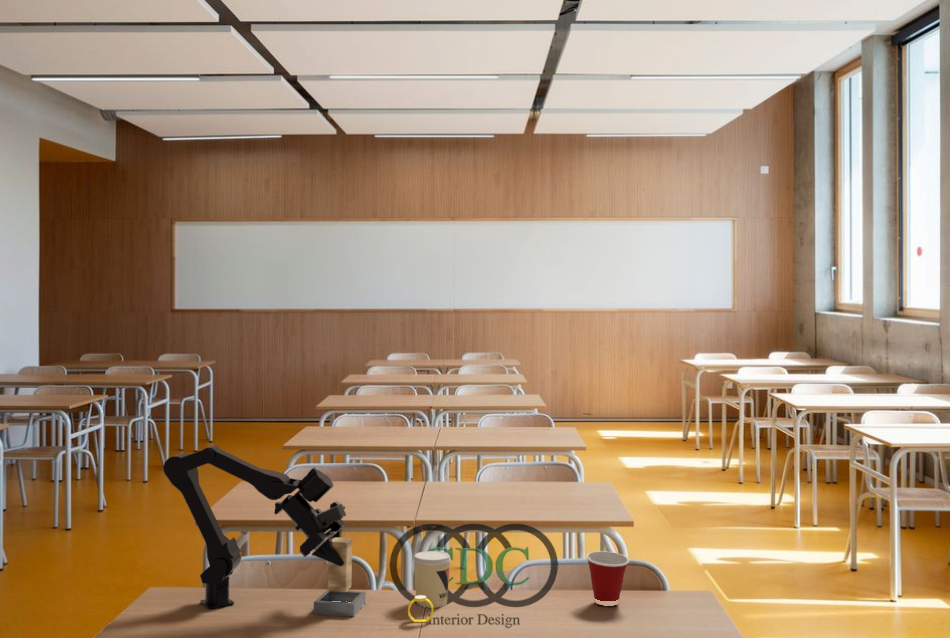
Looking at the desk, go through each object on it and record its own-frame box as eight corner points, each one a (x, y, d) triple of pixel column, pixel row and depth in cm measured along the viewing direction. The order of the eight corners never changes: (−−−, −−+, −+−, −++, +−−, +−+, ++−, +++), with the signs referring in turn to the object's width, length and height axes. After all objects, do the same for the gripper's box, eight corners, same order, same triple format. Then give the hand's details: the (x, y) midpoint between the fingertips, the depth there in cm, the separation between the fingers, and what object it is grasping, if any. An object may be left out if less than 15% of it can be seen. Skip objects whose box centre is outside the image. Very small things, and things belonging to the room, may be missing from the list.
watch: (408, 625, 204) (406, 599, 204) (408, 621, 207) (407, 596, 207) (433, 623, 205) (432, 597, 205) (433, 619, 207) (432, 594, 207)
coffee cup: (445, 610, 214) (445, 561, 214) (408, 607, 216) (409, 558, 216) (453, 598, 223) (454, 551, 224) (418, 596, 225) (419, 549, 226)
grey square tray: (313, 614, 210) (313, 601, 210) (327, 601, 220) (327, 589, 220) (353, 616, 209) (354, 604, 209) (365, 603, 218) (365, 591, 219)
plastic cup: (605, 613, 213) (605, 564, 214) (576, 601, 222) (577, 554, 223) (638, 606, 219) (638, 558, 219) (608, 594, 228) (609, 548, 229)
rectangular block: (328, 591, 213) (329, 541, 213) (333, 585, 217) (334, 537, 217) (345, 592, 212) (346, 542, 212) (351, 586, 216) (352, 538, 216)
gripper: (313, 500, 206) (357, 549, 204) (337, 486, 224) (378, 531, 223) (281, 531, 207) (324, 581, 205) (307, 515, 226) (348, 560, 224)
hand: (345, 562), depth 214 cm, fingers closed on rectangular block, 4 cm apart
